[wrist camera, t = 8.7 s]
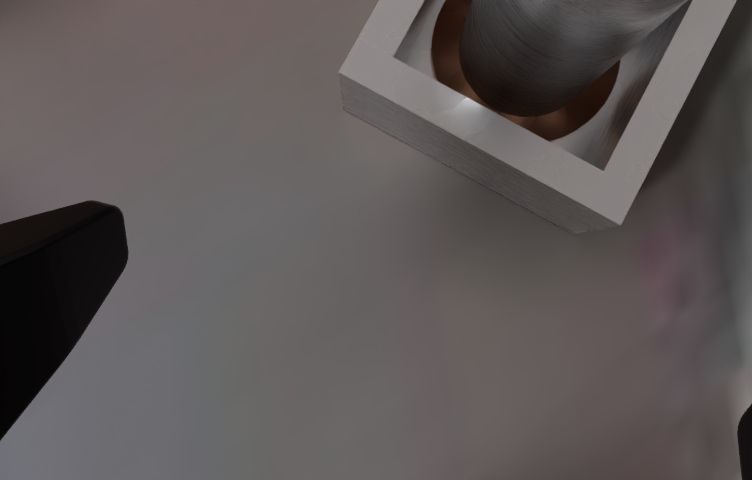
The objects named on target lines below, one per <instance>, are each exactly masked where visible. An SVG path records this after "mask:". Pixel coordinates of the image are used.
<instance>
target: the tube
mask: <svg viewBox="0 0 752 480" xmlns="http://www.w3.org/2000/svg"><path fill="white" fill-rule="evenodd" d="M686 1H688V0H473V1H472V3H471V6H470V9H469V11H468V14H467V17H466V19H465V22H464V24H463V27H462V30H461V34H460V39H459V51H458V52H459V61H460V65H461V69H462V72H463V74H464V77H465V79H466V81H467V83H468V84H469V86H470V87H471V89H472V90H473V91H474V93H475V94H476V95H477V96H478V97H479V98H480V99H481V100H482V101H484V102H485V103H486V104H487V105H489V106H491V107H492V108H494V109H496V110H498V111H500V112H502V113H505V114H508V115H512V116H518V117H538V116H543V115H547V114H550V113H553V112H555V111H557V110H559V109H561V108H563V107H564V106H566V105H567V104H569V103H570V102H571V101H572V100H573V99H575V98H576V97H577V96H578V95H579V94H580V93H582V92H583V91H584V90H585V89H586V88H587V87H588V86H590V85H591V84H592V83H593V82H594V81H595V80H597V79H598V78H599V77H600V76H601V75H602V74H603V73H605V72H606V71H607V70H608V69H609V68H610V67H611V66H613V65H614V64H615V63H616V62H617V61H618V60H620V59H621V58H622V57H623V56H624V55H625V54H626V53H628V52H629V51H630V50H631V49H632V48H633V47H635V46H636V45H637V44H638V43H639V42H640V41H641V40H643V39H644V38H645V37H646V36H647V35H648V34H650V33H651V32H652V31H653V30H654V29H655V28H656V27H658V26H659V25H660V24H661V23H662V22H663V21H665V20H666V19H667V18H668V17H669V16H670V15H671V14H673V13H674V12H675V11H676V10H677V9H678V8H680V7H681V6H682V5H683V4H684V3H685V2H686Z"/></svg>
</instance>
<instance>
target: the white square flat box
mask: <svg viewBox="0 0 752 480" xmlns="http://www.w3.org/2000/svg"><path fill="white" fill-rule="evenodd" d="M472 1H473V0H379V2H378V3H377V5H376V7H375V9H374V11H373V12H372V14H371V16H370V18H369V19H368V21H367V23H366V25H365V26H364V28H363V30H362V32H361V33H360V35H359V37H358V39H357V41H356V42H355V44H354V46H353V48H352V49H351V51H350V53H349V55H348V56H347V58H346V60H345V62H344V63H343V65H342V67H341V69H340V71H339V80H340V87H341V95H342V103H343V109H344V110H346V111H348V112H350V113H351V114H353V115H355V116H357V117H359V118H361V119H362V120H364V121H366V122H368V123H370V124H372V125H373V126H375V127H377V128H379V129H381V130H383V131H384V132H386V133H388V134H390V135H392V136H394V137H396V138H397V139H399V140H401V141H403V142H405V143H407V144H408V145H410V146H412V147H414V148H416V149H418V150H419V151H421V152H423V153H425V154H427V155H429V156H430V157H432V158H434V159H436V160H438V161H440V162H442V163H443V164H445V165H447V166H449V167H451V168H453V169H454V170H456V171H458V172H460V173H462V174H464V175H465V176H467V177H469V178H471V179H473V180H475V181H476V182H478V183H480V184H482V185H484V186H486V187H488V188H489V189H491V190H493V191H495V192H497V193H499V194H500V195H502V196H504V197H506V198H508V199H510V200H511V201H513V202H515V203H517V204H519V205H521V206H522V207H524V208H526V209H528V210H530V211H532V212H534V213H535V214H537V215H539V216H541V217H543V218H545V219H546V220H548V221H550V222H552V223H554V224H556V225H557V226H559V227H561V228H563V229H565V230H567V231H569V232H570V233H572V234H574V235H576V234H581V233H586V232H591V231H596V230H600V229H605V228H610V227H615V226H620V225H621V224H622V222H623V220H624V218H625V216H626V214H627V212H628V210H629V209H630V207H631V205H632V203H633V201H634V199H635V197H636V195H637V193H638V191H639V189H640V187H641V185H642V183H643V181H644V179H645V177H646V176H647V174H648V172H649V170H650V168H651V166H652V164H653V162H654V160H655V158H656V156H657V154H658V152H659V150H660V148H661V146H662V144H663V143H664V141H665V139H666V137H667V135H668V133H669V131H670V129H671V127H672V125H673V123H674V121H675V119H676V117H677V115H678V113H679V111H680V110H681V108H682V106H683V104H684V102H685V100H686V98H687V96H688V94H689V92H690V90H691V88H692V86H693V84H694V82H695V80H696V78H697V76H698V75H699V73H700V71H701V69H702V67H703V65H704V63H705V61H706V59H707V57H708V55H709V53H710V51H711V49H712V47H713V45H714V43H715V42H716V40H717V38H718V36H719V34H720V32H721V30H722V28H723V26H724V24H725V22H726V20H727V18H728V16H729V14H730V12H731V10H732V9H733V7H734V5H735V3H736V1H737V0H688V1H686V2H685V3H684V4H683V5H682V6H681V7H680V8H678V9H677V10H676V11H675V12H674V13H673V14H671V15H670V16H669V17H668V18H667V19H666V20H665V21H663V22H662V23H661V24H660V25H659V26H658V27H656V28H655V29H654V30H653V31H652V32H651V33H650V34H648V35H647V36H646V37H645V38H644V39H643V40H641V41H640V42H639V43H638V44H637V45H636V46H635V47H633V48H632V49H631V50H630V51H629V52H628V53H626V54H625V55H624V56H623V57H622V58H621V59H620V60H618V61H617V62H616V63H615V64H614V65H613V66H611V67H610V68H609V69H608V70H607V71H606V72H605V73H603V74H602V75H601V76H600V77H599V78H598V79H597V80H595V81H594V82H593V83H592V84H591V85H590V86H588V87H587V88H586V89H585V90H584V91H583V92H582V93H580V94H579V95H578V96H577V97H576V98H575V99H573V100H572V101H571V102H570V103H569V104H567V105H566V106H564V107H563V108H561V109H559V110H557V111H555V112H553V113H550V114H547V115H543V116H538V117H518V116H512V115H508V114H505V113H502V112H500V111H498V110H496V109H494V108H492V107H491V106H489V105H487V104H486V103H485V102H484V101H482V100H481V99H480V98H479V97H478V96H477V95H476V94H475V93H474V91H473V90H472V89H471V87H470V86H469V84H468V83H467V81H466V79H465V77H464V74H463V72H462V69H461V65H460V61H459V52H458V51H459V39H460V34H461V30H462V27H463V24H464V22H465V19H466V17H467V14H468V11H469V9H470V6H471V3H472Z"/></svg>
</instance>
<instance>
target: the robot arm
mask: <svg viewBox="0 0 752 480" xmlns="http://www.w3.org/2000/svg"><path fill="white" fill-rule="evenodd" d="M127 260H128V246H127V239H126V231H125V224H124V218H123V214H122V212H121V210H120V209H119V208H118V207H116V206H114V205H110V204H106V203H102V202H98V201H85V202H82V203H78V204H74V205H70V206H67V207H63V208H59V209H55V210H52V211H48V212H44V213H40V214H37V215H33V216H29V217H25V218H22V219H18V220H14V221H10V222H7V223H3V224H0V440H1V439H2V438H3V437H4V435H5V434H6V433H7V432H8V430H9V429H10V428H11V427H12V425H13V424H14V423H15V422H16V420H17V419H18V418H19V417H20V415H21V414H22V413H23V412H24V410H25V409H26V408H27V407H28V405H29V404H30V403H31V402H32V400H33V399H34V398H35V397H36V395H37V394H38V393H39V392H40V390H41V389H42V388H43V387H44V385H45V384H46V383H47V382H48V380H49V379H50V378H51V377H52V375H53V374H54V373H55V372H56V370H57V369H58V368H59V367H60V365H61V364H62V363H63V361H64V360H65V359H66V357H67V356H68V355H69V353H70V352H71V351H72V349H73V348H74V346H75V345H76V343H77V342H78V341H79V339H80V338H81V336H82V334H83V333H84V331H85V330H86V328H87V327H88V325H89V324H90V322H91V320H92V319H93V317H94V316H95V314H96V313H97V311H98V309H99V308H100V306H101V305H102V303H103V302H104V300H105V298H106V297H107V295H108V294H109V292H110V291H111V289H112V288H113V286H114V284H115V283H116V281H117V280H118V278H119V277H120V275H121V273H122V272H123V270H124V268H125V266H126V264H127ZM737 434H738V446H739V455H740V465H741V474H742V480H752V404H751V405H750V407H749V408H748V409H747V410H746V412H745V413H744V414H743V416H742V417H741V419H740V422H739V425H738V432H737Z"/></svg>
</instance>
